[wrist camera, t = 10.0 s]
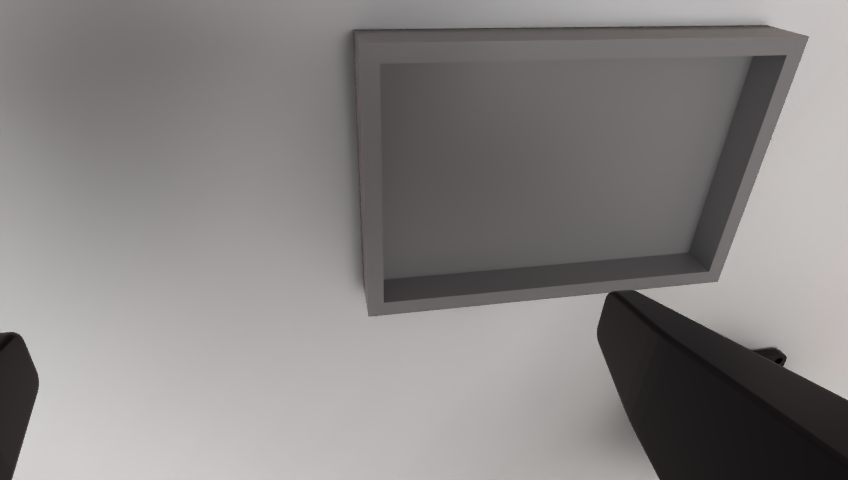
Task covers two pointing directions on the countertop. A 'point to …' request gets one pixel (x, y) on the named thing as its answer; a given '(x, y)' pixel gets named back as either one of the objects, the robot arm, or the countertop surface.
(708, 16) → the countertop surface
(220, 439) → the countertop surface
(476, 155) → the bin
